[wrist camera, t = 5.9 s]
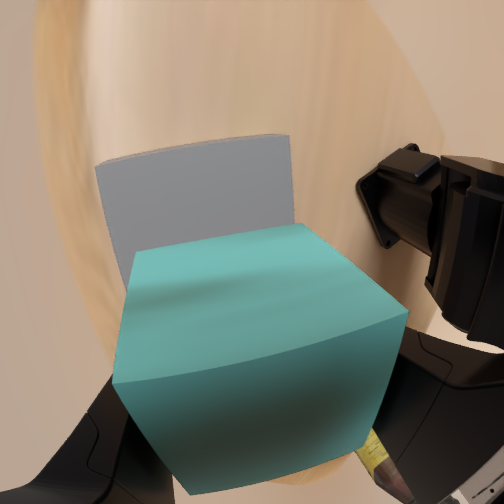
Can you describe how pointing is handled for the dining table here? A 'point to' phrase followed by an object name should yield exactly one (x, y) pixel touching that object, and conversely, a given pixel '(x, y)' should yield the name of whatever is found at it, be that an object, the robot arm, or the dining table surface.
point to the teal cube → (253, 355)
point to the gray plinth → (195, 193)
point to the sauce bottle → (387, 471)
